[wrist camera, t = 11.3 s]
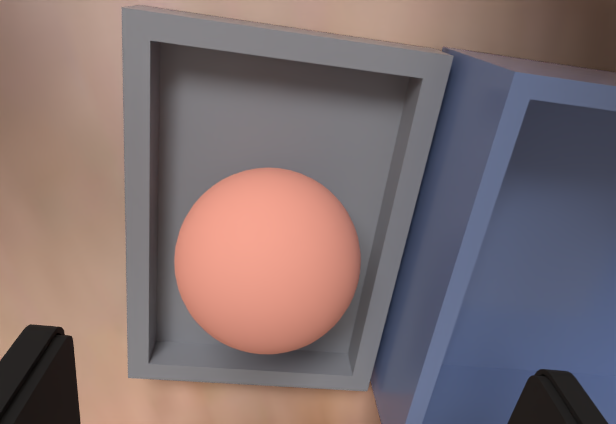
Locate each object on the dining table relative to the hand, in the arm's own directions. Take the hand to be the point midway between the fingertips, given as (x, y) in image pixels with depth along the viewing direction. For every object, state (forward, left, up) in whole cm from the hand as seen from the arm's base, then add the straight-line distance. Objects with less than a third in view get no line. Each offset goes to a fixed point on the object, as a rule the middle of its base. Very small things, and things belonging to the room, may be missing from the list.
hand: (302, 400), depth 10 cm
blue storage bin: (-12, +1, -10) cm, 15 cm away
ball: (+1, 0, -6) cm, 6 cm away
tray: (+1, +1, -10) cm, 10 cm away
